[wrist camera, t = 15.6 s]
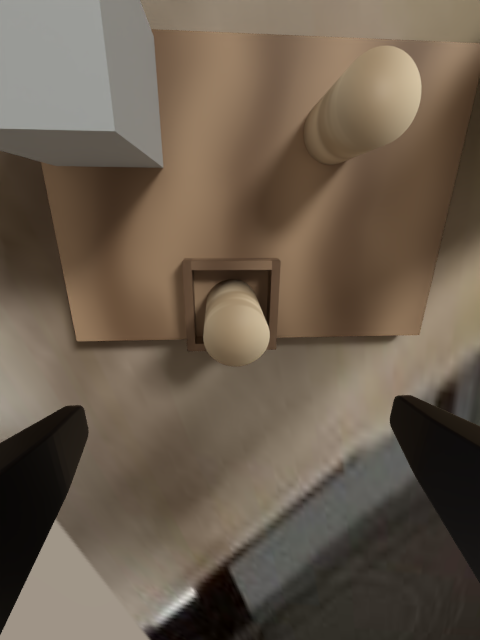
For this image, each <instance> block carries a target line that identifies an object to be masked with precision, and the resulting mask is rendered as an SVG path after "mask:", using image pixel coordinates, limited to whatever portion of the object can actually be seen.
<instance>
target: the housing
mask: <svg viewBox="0 0 480 640" xmlns="http://www.w3.org/2000/svg"><path fill="white" fill-rule="evenodd" d="M0 151H3V152H7V153H11V154H14V155H18V156H21V157H25V158H29V159H32V160H36V161H40V162H43V163H47V164H51V165H54V166H84V167H147V168H163V155H162V141H161V128H160V114H159V101H158V87H157V73H156V60H155V46H154V36H153V33H152V30H151V28H150V25H149V23H148V20H147V17H146V15H145V12H144V10H143V7H142V4H141V2H140V0H0Z"/></svg>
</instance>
